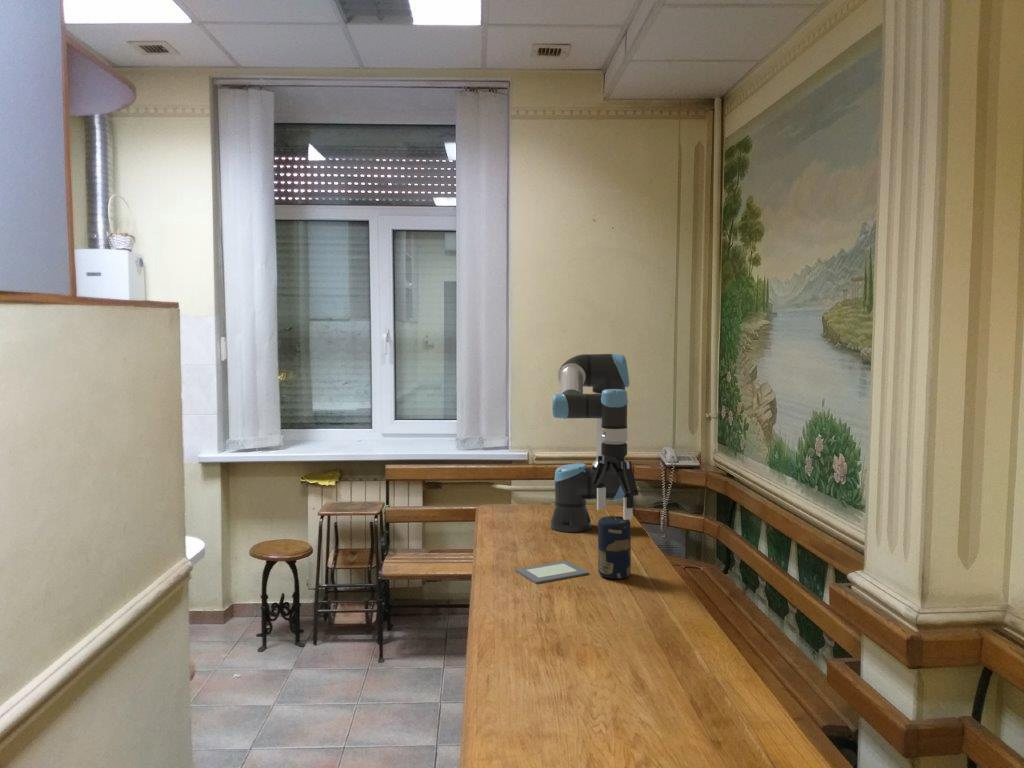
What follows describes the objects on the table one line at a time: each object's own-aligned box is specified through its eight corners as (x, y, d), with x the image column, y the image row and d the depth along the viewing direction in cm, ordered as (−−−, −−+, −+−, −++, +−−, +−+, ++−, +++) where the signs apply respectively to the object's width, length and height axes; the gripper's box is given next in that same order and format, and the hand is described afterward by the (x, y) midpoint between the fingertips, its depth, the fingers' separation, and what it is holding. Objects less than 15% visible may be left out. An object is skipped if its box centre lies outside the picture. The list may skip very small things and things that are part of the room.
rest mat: (566, 562, 226) (566, 560, 226) (588, 574, 215) (588, 571, 215) (515, 570, 218) (515, 568, 218) (535, 583, 207) (535, 581, 207)
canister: (629, 570, 218) (629, 511, 217) (631, 581, 208) (631, 519, 207) (597, 570, 219) (597, 511, 218) (598, 580, 209) (598, 519, 208)
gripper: (580, 438, 220) (580, 506, 222) (628, 448, 198) (628, 525, 199) (601, 436, 224) (601, 504, 225) (651, 446, 202) (650, 521, 203)
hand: (614, 514), depth 212 cm, fingers open, 13 cm apart
